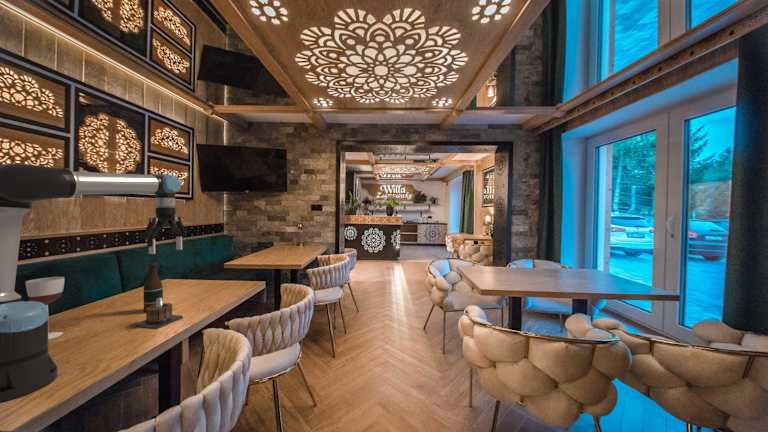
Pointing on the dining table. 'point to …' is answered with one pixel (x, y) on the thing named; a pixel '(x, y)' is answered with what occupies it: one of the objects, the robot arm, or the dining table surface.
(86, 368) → the dining table surface
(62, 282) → the wineglass
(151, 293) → the beer bottle
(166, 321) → the post
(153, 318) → the ring
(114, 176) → the robot arm
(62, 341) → the dining table surface
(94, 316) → the dining table surface
